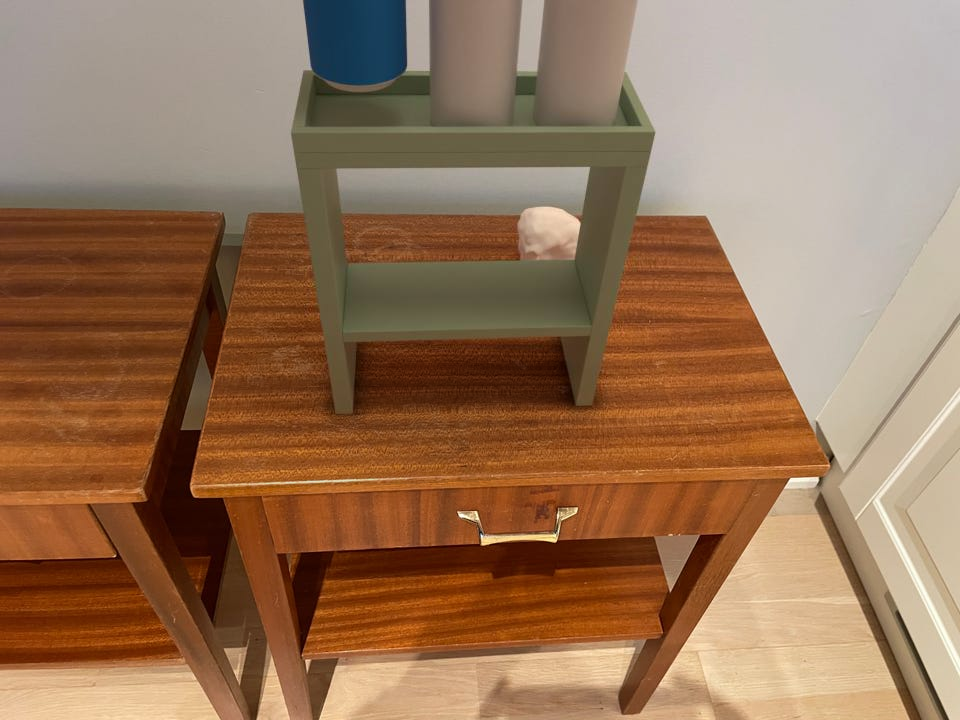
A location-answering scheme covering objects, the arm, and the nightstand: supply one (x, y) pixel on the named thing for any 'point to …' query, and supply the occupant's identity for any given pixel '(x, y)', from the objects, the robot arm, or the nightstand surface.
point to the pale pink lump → (547, 234)
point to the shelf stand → (473, 286)
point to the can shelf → (453, 146)
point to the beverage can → (357, 42)
